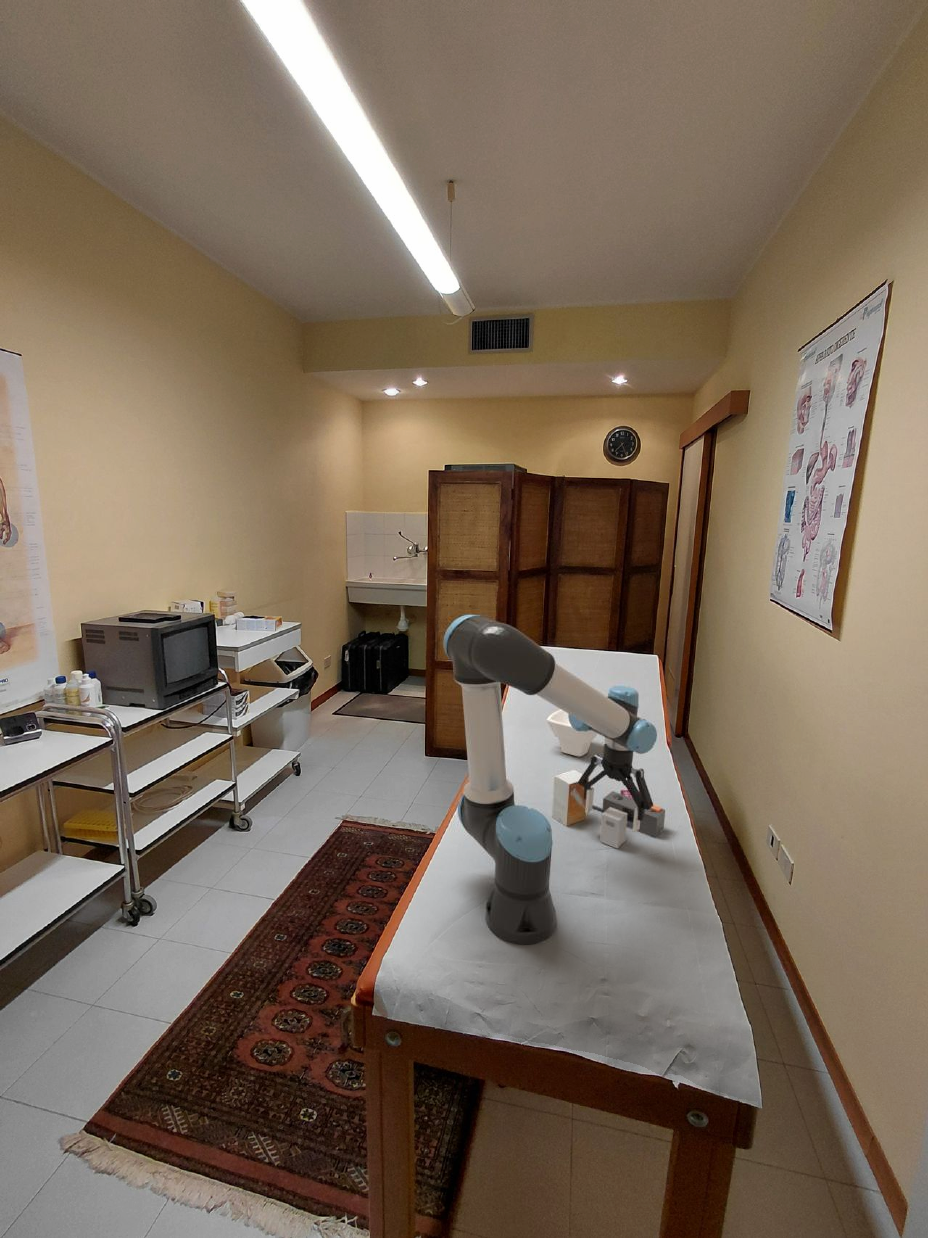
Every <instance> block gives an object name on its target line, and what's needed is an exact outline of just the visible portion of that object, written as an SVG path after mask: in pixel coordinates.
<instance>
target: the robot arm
mask: <svg viewBox="0 0 928 1238" xmlns="http://www.w3.org/2000/svg"><path fill="white" fill-rule="evenodd" d="M442 644H443V650H444V652H445V655H446V656H447V658H448V659H449V660H450V661H451V662H452V669H453V680H454V682H455V683H457V684H458V685H460V687H461V692H462V693H461V694H462V705H463V717H464V718H463V719H464V730H465V731H464V732H465V742H466V744H465V745H466V755H467V756H466V757H467V767H468V770H467V771H468V778H469V779H468V782H467V783H466V784H465V785H464V787H463V792H462V796H461V797H459V800H458V803H457V814H458V815H457V816H458V819H459V821H460V823H461V825H462V827H463V829H465V831H466V832H467V833H468V834H469V836H471V837H472V838H473V839H474V840H475V841H476V842H477V843H478V845H479V846H480V847H482V848H483V849H484V850H485V852H486V853H487V854H488V855H489V856H490V857H491V858H492V859H493V861H494V864H495V865H494V867H495V868H494V884H493V886H492V888H491V891H490V892H489V896H488V898H487V900H486V905H485V922H486V925H487V927H488V928H489V929H490V931H491V932H492V933H493V934H494V935H495V936H497V937H499V938H501V939H502V940H504V941H506V942H508V943H513V944H518V945H531V944H532V945H533V944H538V943H540V942H543V941H544V940H546V939H547V938H549V937H550V936H551V935H552V934H553V932H554V931H555V929H556V919H557V913H556V908H555V905H554V902H553V897H552V894H551V891H550V878H551V865H552V864H551V862H552V851H553V850H552V849H553V833H552V832H553V831H552V827H551V823H550V822H549V820H548V818H547V817H546V816H545V815H544V814H543V813H542V812H540V811H539V810H537V809H536V808H533V807H531V808H529V807H528V806H526V805H516V804H515V803H516V802H515V789H514V784H513V783H512V782H511V781H510V780H509V779H507V770H506V753H505V739H504V738H505V735H504V721H503V705H502V704H503V703H502V690H501V687H502V686H501V684H504V685H507V686H509V687H511V688H513V689H517V690H518V691H520V692H522V693H524V694H525V695H528V696H538V697H540V698H541V699H543V700H545V701H547V702H548V703H550V704H552V705H553V706H555V707H557V708H558V709H559V710H561V709H562V710H563V711H565V712H567V713H568V718H569V722H570V724H571V726H572V727H573V728H574V729H575V730H577V731H588V730H591V731H594V732H596V733H598V734H597V735H600V736H602V737H604V739H603V741H604V744H603V754H602V757H600V755H599V754H598V753H597V754H594V755H593V756H591V758H590V763H589V765H588V767H586V769H585V771H584V772H583V775H582V777H581V778H580V779H579V781H578V784H579V785H582V786H583V787H584V799H585V800H586V807H585V813H586V815H587V814H589V813H590V812H592V811H593V809H592V806H593V805H594V796H595V795H594V794H595V793H594V792H595V787H592V786H594V785H595V784H596V783H597V782H599V781H600V780H602V779H603V778H604V777H605V776H607V777H608V778H609V779H610V780H615V781H617V782H621V783H622V784H623V786H625V788H626V789H627V790H628V791H629V793H630V795H631V796H632V798H633V800H634V801H635V803H636V805H637V807H636V808H635V812H634V821H633V829H632V833H634V834H635V833H636V832H639V831H638V830H639V828H640V821H642V820H643V819H644V815H645V809H647V810H649V809H650V808H651V807H652V806H653V805H654V802H653V799H652V796H651V793H650V791H649V789H648V788H649V787H648V786H647V781H646V780H645V771H644V769H643V768H639V769H637V768H633V760H634V759H633V758H634V753H636V754H640V755H645V754H646V753H649V752H650V751H651V750H652V749H653V748H654V746H655V743H657V738H658V732H657V729H656V726H655V725H654V724H653V723H651V722H649V721H647V720H646V719H644V718H641V717H638V710H639V707H640V706H639V696H640V695H639V692H638V691H637V690H636V689H635V688H633V687H630V686H625V685H613V686H612V687H610V688H609V691H608V694H607V695H608V696H606V695H605V694H603V693H602V692H601V691H599V690H597V689H595V688H594V687H593V686H591V685H590V684H588V683H586V682H585V681H583V679H580V678H579V677H577V676H575V675H574V674H573V673H571V672H570V671H568V670H567V669H566V668H564V667H562V666H561V665H559V664H558V663H557V662H556V658H555V657H554V656H553V654H551V653H550V652H549V651H547V650H545V649H544V648H543V647H541V646H540V645H539V644H537V643H536V642H535V641H534V640H533V639H531V638H529V637H528V636H527V635H525V634H524V633H523V632H522V631H520V630H519V629H517V628H516V627H514V626H512V625H510V624H507V623H504V622H500V621H496V620H494V619H492V618H491V619H490V618H488V617H486V616H484V615H479V614H478V615H477V614H465V615H462V616H459V617H458V618H456V619H455V620H454V621H452V623H451V624H450V625H449V627H448V628H446V631H445V634H444V636H443V642H442ZM600 764H601V766H602V768H603V770H602V771H600V772H599V773H598V774H597V775H596V776H594V777H592V779H590V776H591V775H592V773H593V772H594V771H595V769H596V767H597V766H598V765H600ZM631 774H632V775H633V777H632V775H631ZM588 778H589V782H587V779H588ZM633 778H634V779H635V781H636V784H635V783H634V779H633ZM636 785H637V786H636ZM639 791H640V793H639Z"/></svg>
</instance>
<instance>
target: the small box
mask: <svg viewBox="0 0 928 1238" xmlns="http://www.w3.org/2000/svg"><path fill="white" fill-rule="evenodd" d="M583 774H584V773H583ZM583 774H582V773H581V772H579V771H577V770H575V769H572V770H569V771H567V772H562V773H560V774H557V775H554V779H553V780H554V781H553V792H552V795H553V797H552V809H551V810H552V814H551V817H552V818H553V819H554V820H557V822H558V823H561V824H563V825H564V826H566V827H568V826H571V825H572V824H573V825H574V824H577V822H581V821H583V820H586V819H587V813H585V807H586V800H585V799H584V787H583V786H582V785H579V784H578V781H579V779H580V778H581V777H582V775H583ZM589 781H590V777H589V778H588V779H587V782H589Z"/></svg>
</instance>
